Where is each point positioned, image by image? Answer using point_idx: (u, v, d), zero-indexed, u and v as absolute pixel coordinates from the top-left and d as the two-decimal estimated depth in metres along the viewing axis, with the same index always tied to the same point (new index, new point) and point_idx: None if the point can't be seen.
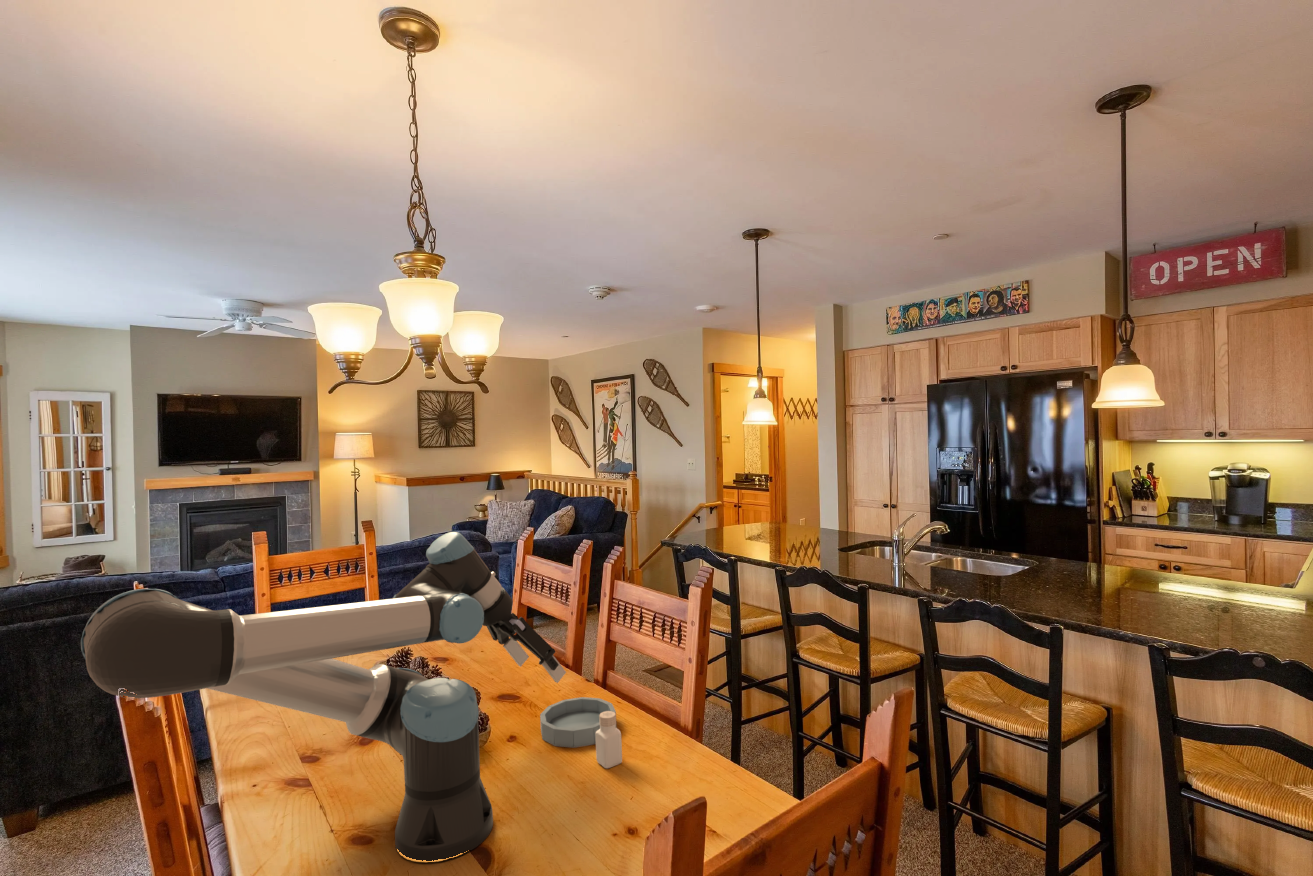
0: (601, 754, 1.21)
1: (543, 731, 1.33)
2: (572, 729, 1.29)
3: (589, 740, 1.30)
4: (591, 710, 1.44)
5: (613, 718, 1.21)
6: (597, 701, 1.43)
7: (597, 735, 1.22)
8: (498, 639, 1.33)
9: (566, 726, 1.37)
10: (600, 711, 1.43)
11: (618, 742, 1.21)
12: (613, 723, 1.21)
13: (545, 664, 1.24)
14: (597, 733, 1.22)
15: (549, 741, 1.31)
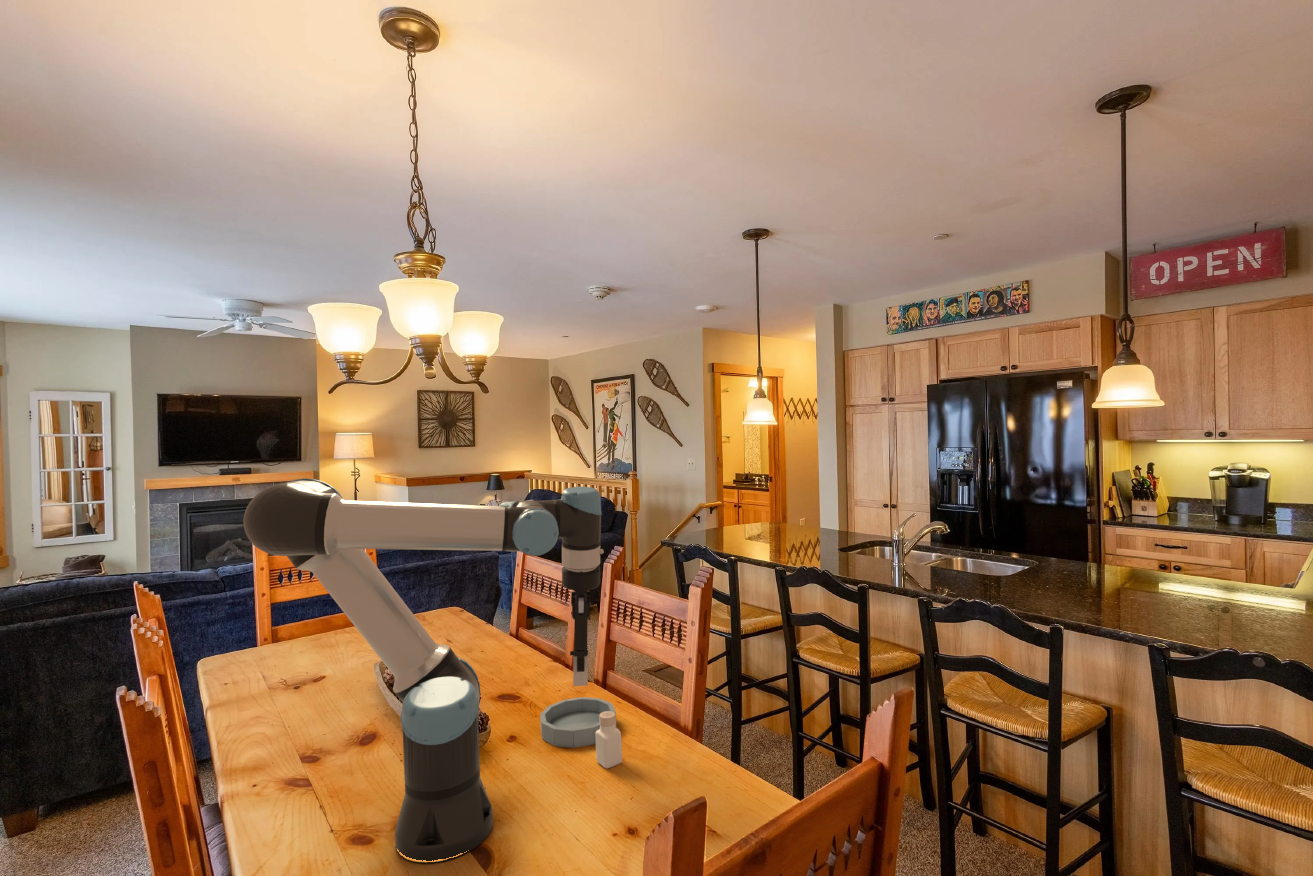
0: (601, 754, 1.21)
1: (543, 731, 1.33)
2: (572, 729, 1.29)
3: (589, 740, 1.30)
4: (591, 710, 1.44)
5: (613, 718, 1.21)
6: (597, 701, 1.43)
7: (597, 735, 1.22)
8: None
9: (566, 726, 1.37)
10: (600, 711, 1.43)
11: (618, 742, 1.21)
12: (613, 723, 1.21)
13: (575, 659, 1.18)
14: (597, 733, 1.22)
15: (549, 741, 1.31)
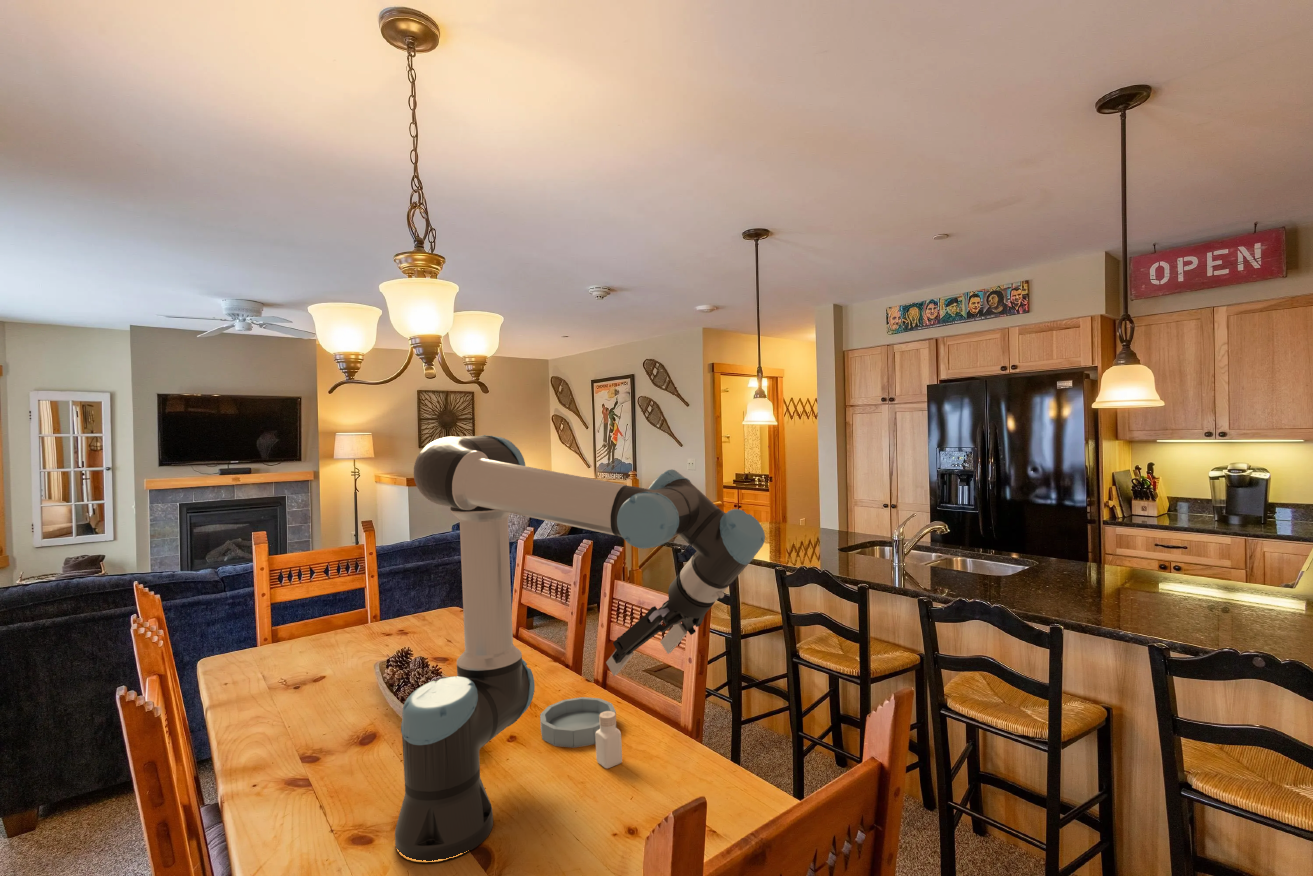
0: (601, 754, 1.21)
1: (543, 731, 1.33)
2: (572, 729, 1.29)
3: (589, 740, 1.30)
4: (591, 710, 1.44)
5: (613, 718, 1.21)
6: (597, 701, 1.43)
7: (597, 735, 1.22)
8: None
9: (566, 726, 1.37)
10: (600, 711, 1.43)
11: (618, 742, 1.21)
12: (613, 723, 1.21)
13: None
14: (597, 733, 1.22)
15: (549, 741, 1.31)
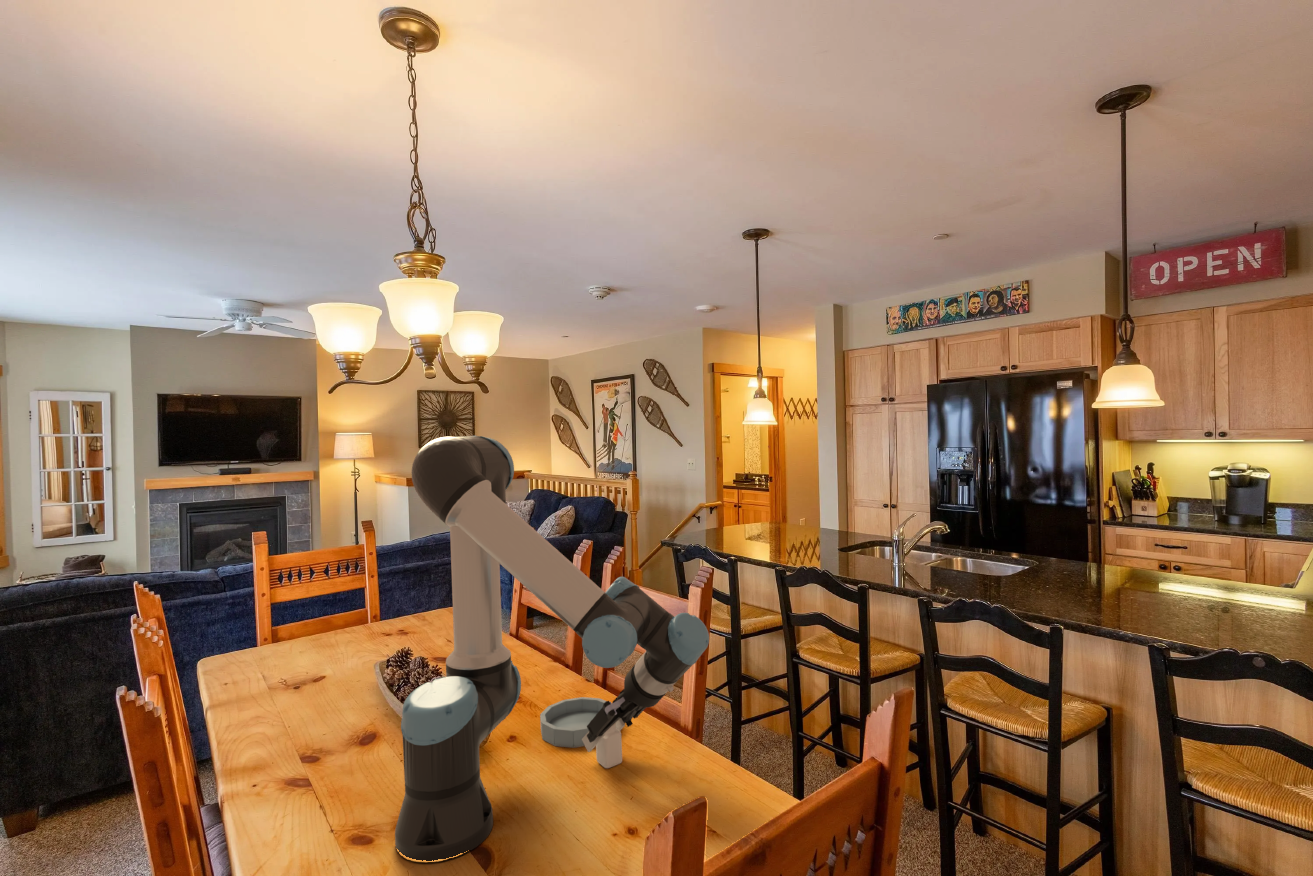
0: (601, 754, 1.21)
1: (543, 731, 1.33)
2: (572, 729, 1.29)
3: None
4: (591, 710, 1.44)
5: None
6: (597, 701, 1.43)
7: None
8: None
9: (566, 726, 1.37)
10: None
11: (618, 742, 1.21)
12: None
13: None
14: None
15: (549, 741, 1.31)
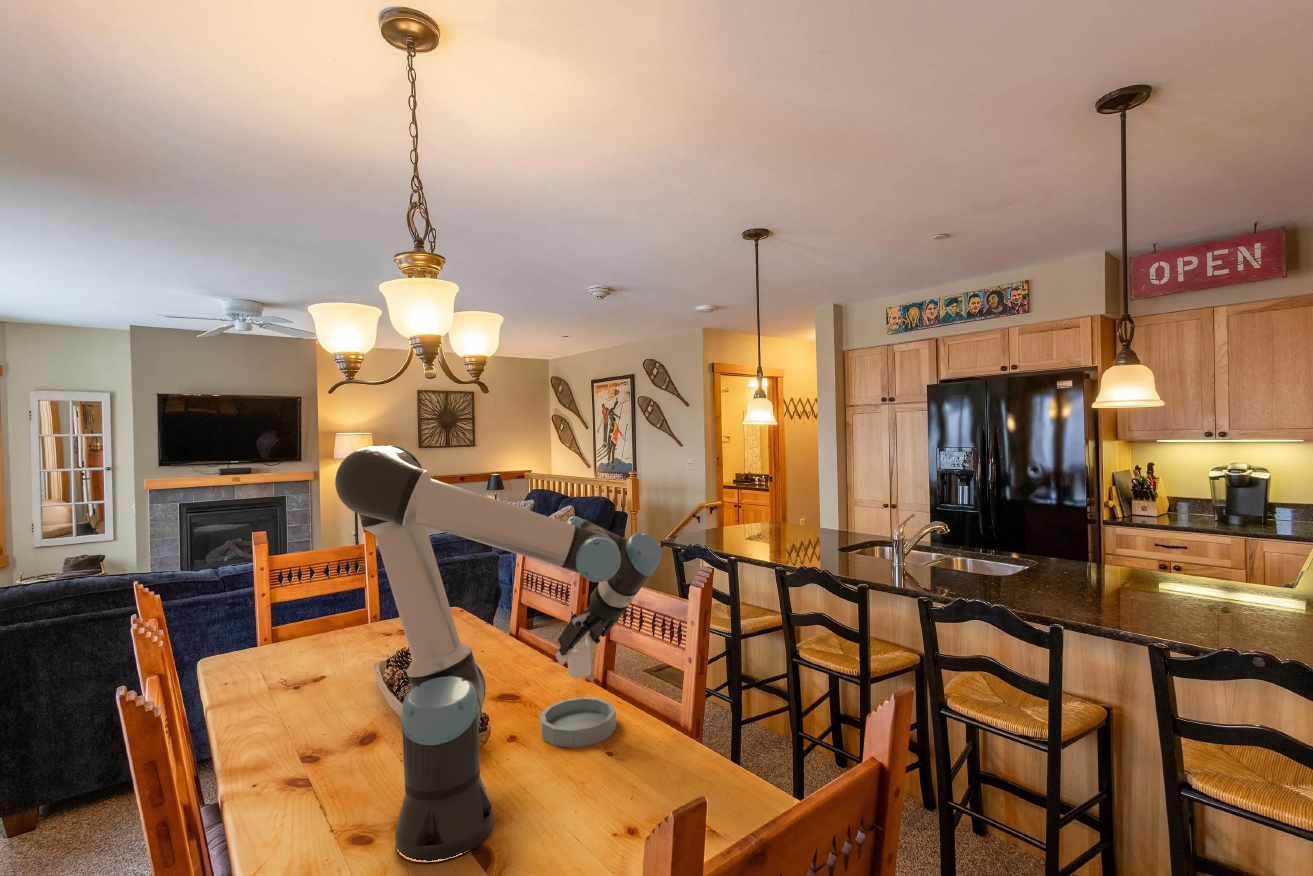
0: (572, 666, 1.35)
1: (543, 731, 1.33)
2: (572, 729, 1.29)
3: (589, 740, 1.30)
4: (591, 710, 1.44)
5: None
6: (597, 701, 1.43)
7: None
8: None
9: (566, 726, 1.37)
10: (600, 711, 1.43)
11: (587, 656, 1.36)
12: (583, 639, 1.36)
13: None
14: None
15: (549, 741, 1.31)
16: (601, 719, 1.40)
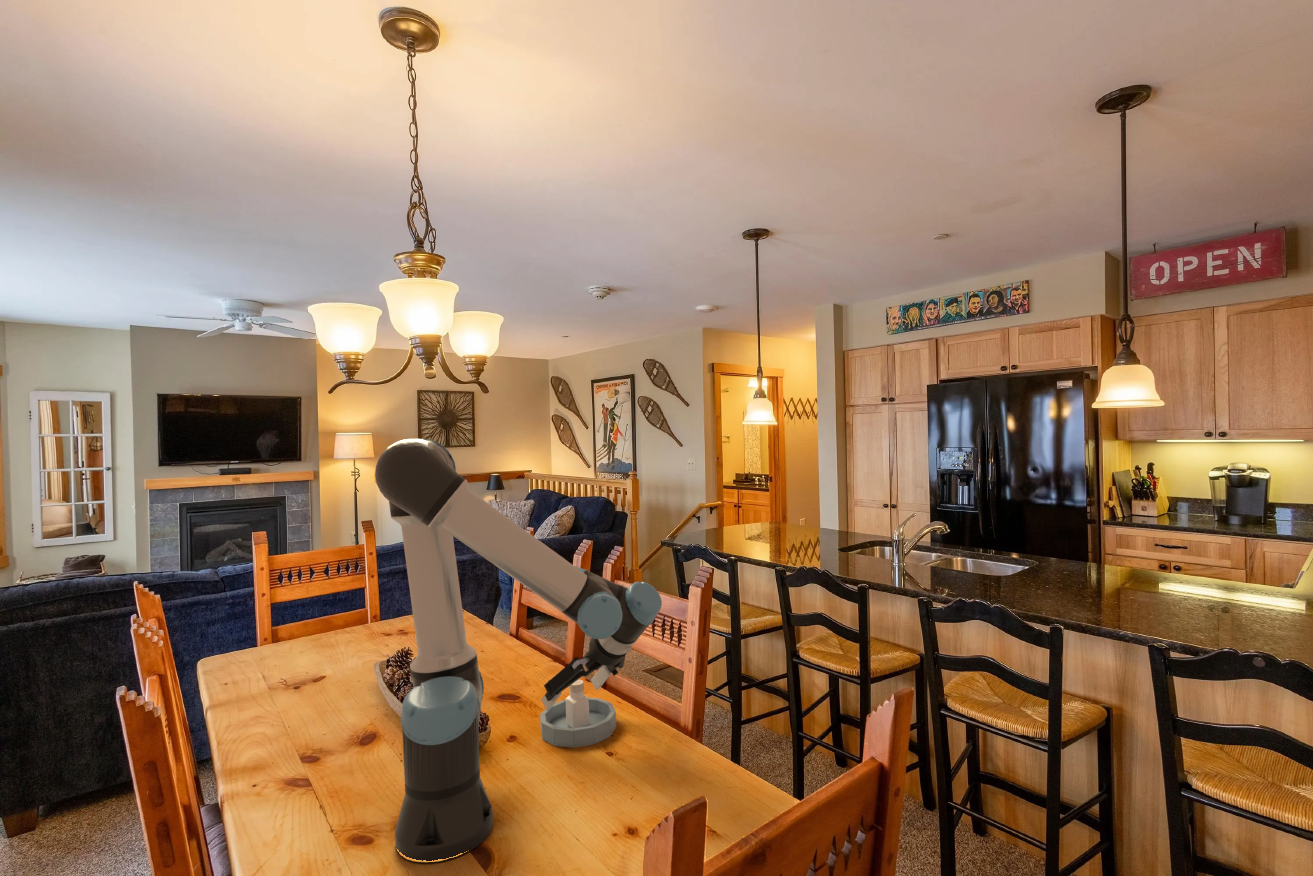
0: (571, 717, 1.35)
1: (543, 731, 1.33)
2: (572, 729, 1.29)
3: (589, 740, 1.30)
4: (591, 710, 1.44)
5: (581, 685, 1.36)
6: (597, 701, 1.43)
7: (567, 701, 1.36)
8: None
9: (566, 726, 1.37)
10: (600, 711, 1.43)
11: (585, 706, 1.36)
12: (582, 690, 1.36)
13: None
14: (567, 699, 1.36)
15: (549, 741, 1.31)
16: (601, 719, 1.40)
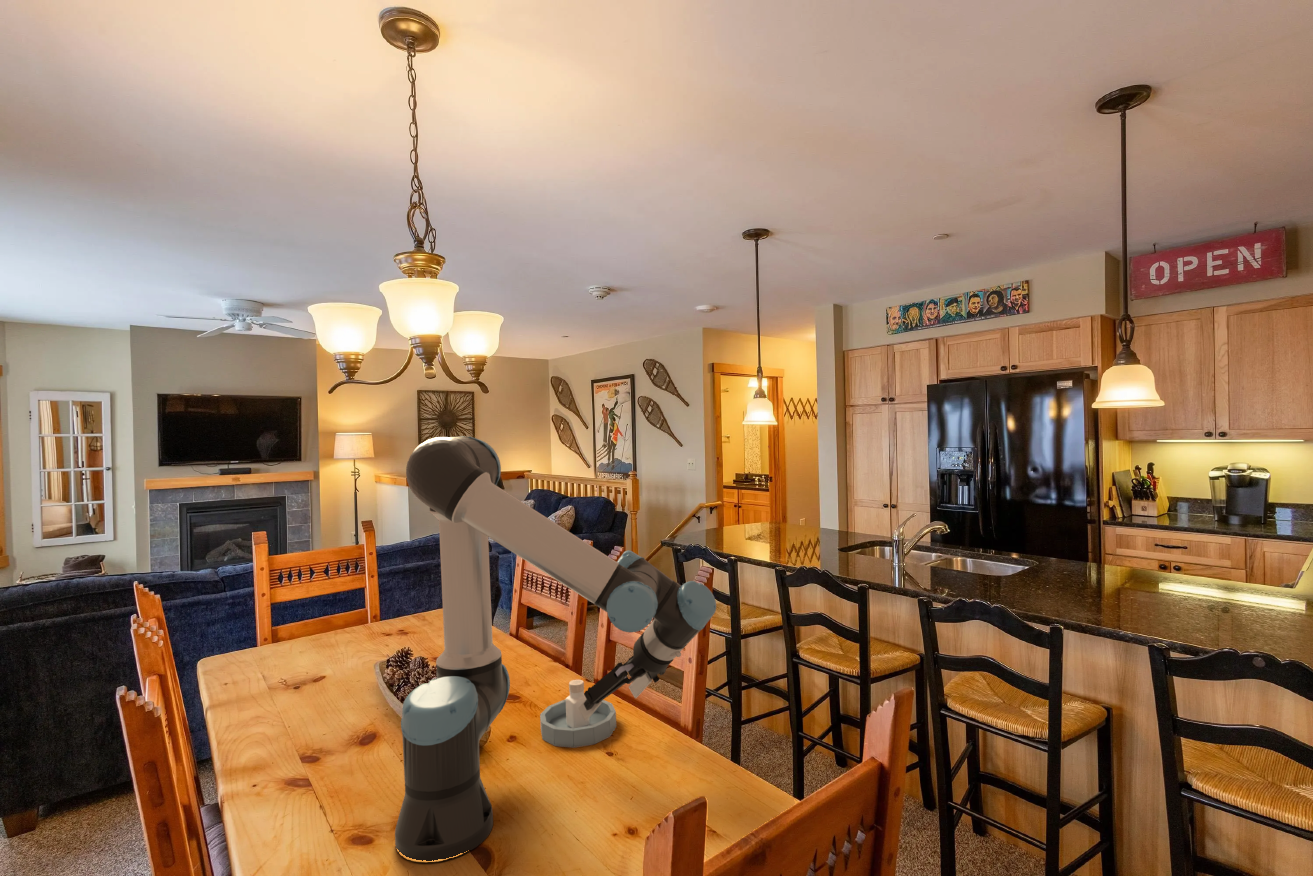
0: (571, 717, 1.35)
1: (543, 731, 1.33)
2: (572, 729, 1.29)
3: (589, 740, 1.30)
4: None
5: (581, 685, 1.36)
6: None
7: (567, 701, 1.36)
8: None
9: (566, 726, 1.37)
10: (600, 711, 1.43)
11: None
12: (582, 690, 1.36)
13: None
14: (567, 699, 1.36)
15: (549, 741, 1.31)
16: (601, 719, 1.40)
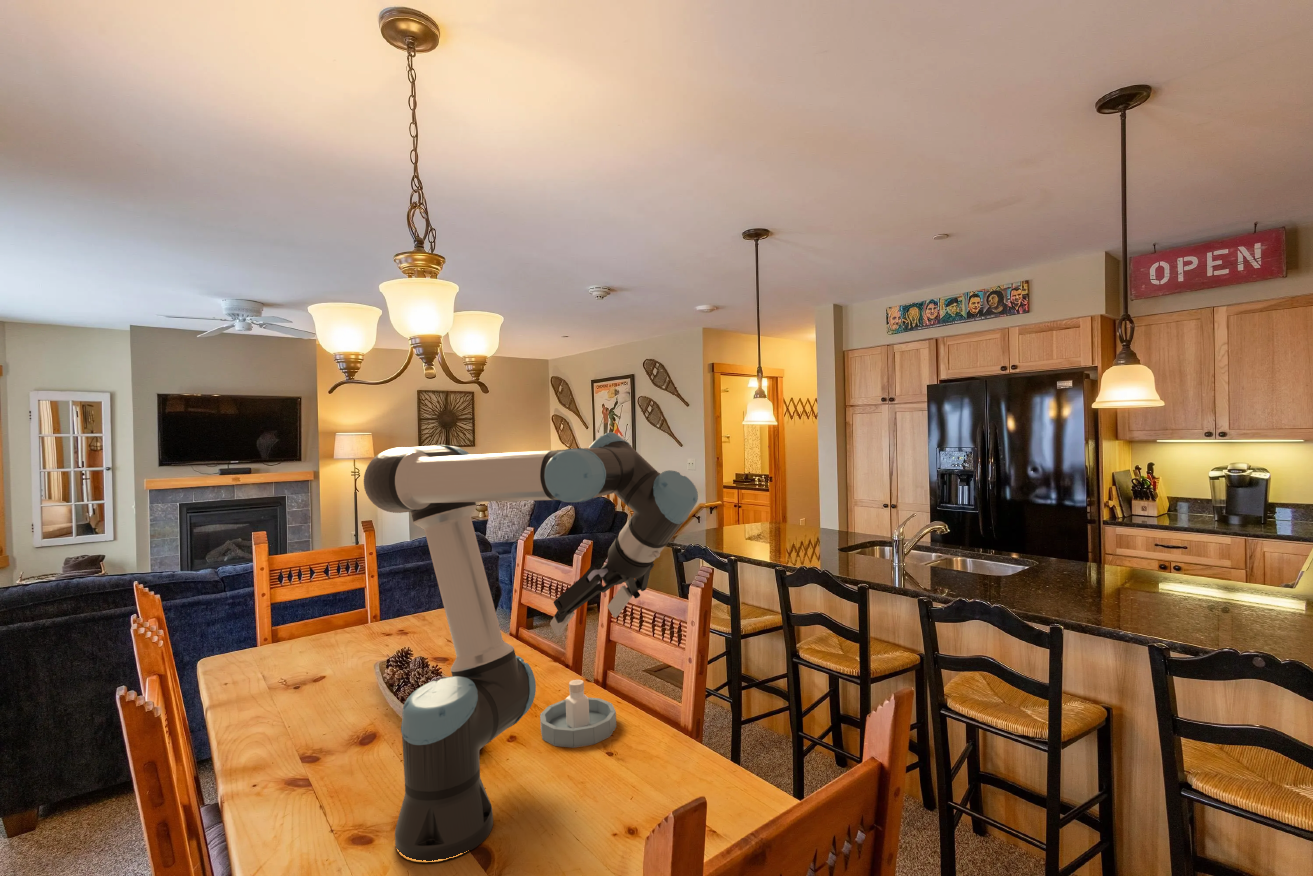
0: (571, 717, 1.35)
1: (543, 731, 1.33)
2: (572, 729, 1.29)
3: (589, 740, 1.30)
4: (591, 710, 1.44)
5: (581, 685, 1.36)
6: (597, 701, 1.43)
7: (567, 701, 1.36)
8: None
9: (566, 726, 1.37)
10: (600, 711, 1.43)
11: (585, 706, 1.36)
12: (582, 690, 1.36)
13: None
14: (567, 699, 1.36)
15: (549, 741, 1.31)
16: (601, 719, 1.40)
